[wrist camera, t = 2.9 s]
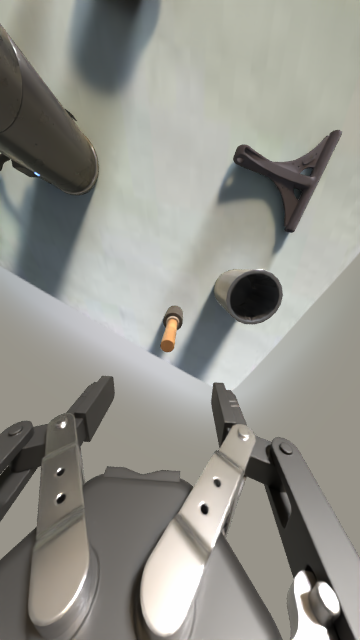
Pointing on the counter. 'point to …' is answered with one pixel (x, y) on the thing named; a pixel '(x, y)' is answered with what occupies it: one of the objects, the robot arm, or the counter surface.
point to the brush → (171, 327)
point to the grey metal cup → (248, 294)
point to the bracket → (291, 174)
